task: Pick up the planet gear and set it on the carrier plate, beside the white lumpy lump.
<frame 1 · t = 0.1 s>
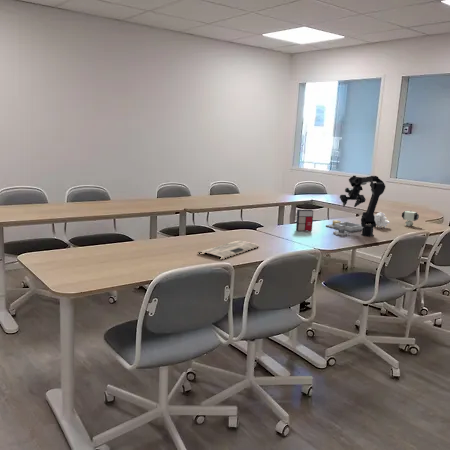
hand: (348, 206, 352), 15 cm above the table, tool tilted 35°, fingers open, 9 cm apart
pneumatic valve: (409, 225, 366), on the table
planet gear: (341, 234, 325), on the table
carrier plate: (348, 229, 344), on the table
newspaper: (228, 251, 272), on the table
grey and red box: (303, 230, 333), on the table
white lumpy lump: (380, 227, 354), on the table
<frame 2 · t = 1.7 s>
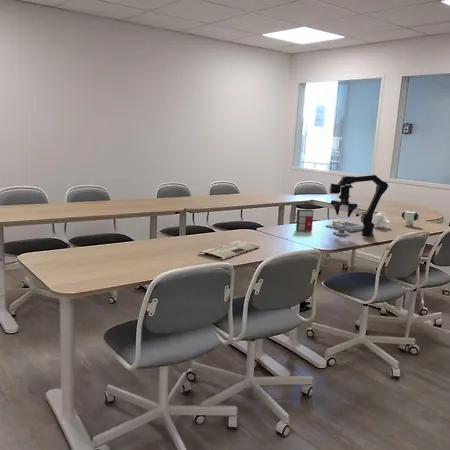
hand: (342, 216, 323), 13 cm above the table, tool pointing down, fingers open, 9 cm apart
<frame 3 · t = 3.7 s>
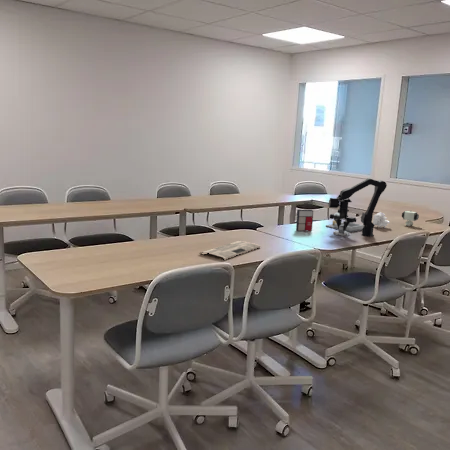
hand: (341, 230, 325), 3 cm above the table, tool pointing down, fingers closed on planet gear, 4 cm apart
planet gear: (341, 234, 325), on the table, touching gripper
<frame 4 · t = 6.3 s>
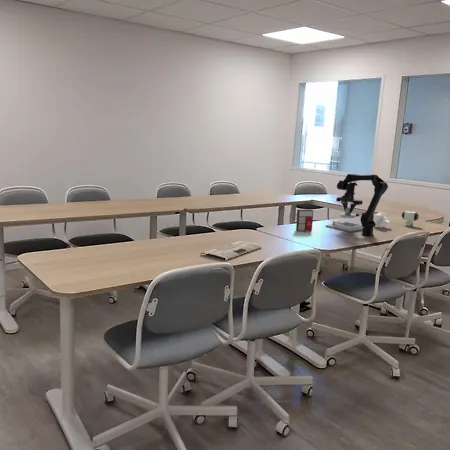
hand: (348, 212, 337), 13 cm above the table, tool pointing down, fingers closed on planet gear, 4 cm apart
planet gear: (347, 216, 337), point 10 cm above the table, touching gripper
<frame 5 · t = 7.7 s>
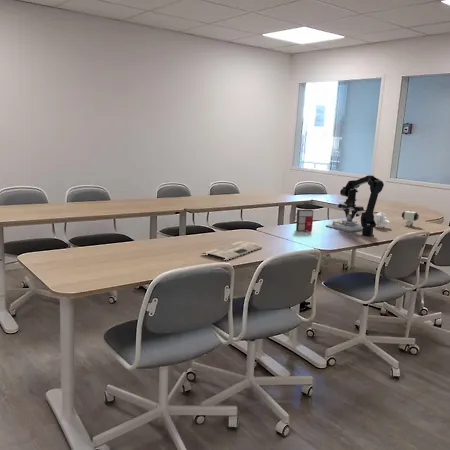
hand: (349, 218, 342), 8 cm above the table, tool pointing down, fingers closed on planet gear, 4 cm apart
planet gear: (349, 222, 343), point 5 cm above the table, touching gripper
when the fingers open (5 cm above the table, at t = 8.9 s): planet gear stays where it is, resting on carrier plate.
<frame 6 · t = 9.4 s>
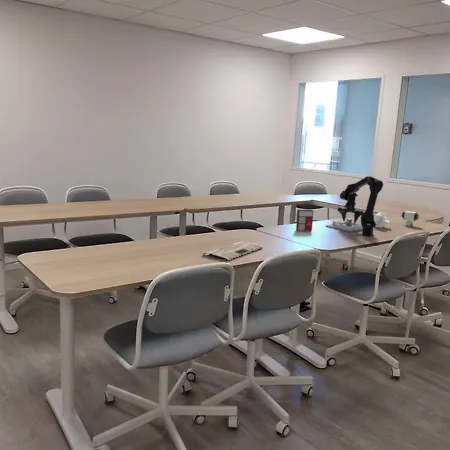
hand: (349, 222, 343), 5 cm above the table, tool pointing down, fingers open, 9 cm apart
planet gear: (348, 227, 344), point 1 cm above the table, touching carrier plate
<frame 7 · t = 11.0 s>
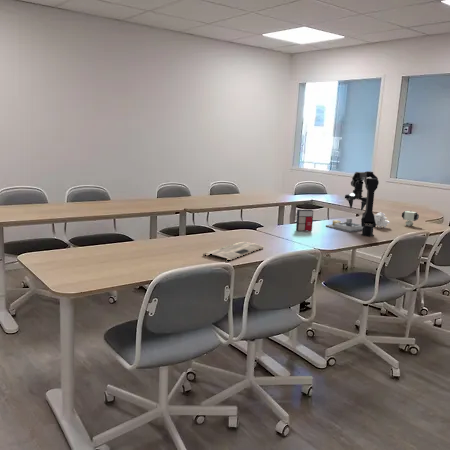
hand: (356, 209, 350), 14 cm above the table, tool pointing down, fingers open, 9 cm apart
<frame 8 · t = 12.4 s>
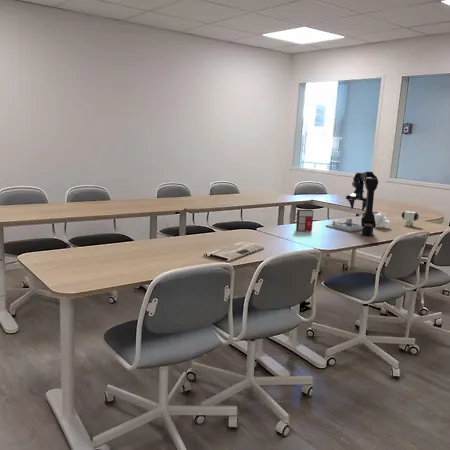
hand: (357, 209, 350), 13 cm above the table, tool pointing down, fingers open, 9 cm apart
at the end: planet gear 0.1 cm off-centre on the carrier plate, point 1.0 cm above the carrier plate's base; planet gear tilted 0°; the gripper is holding nothing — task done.
